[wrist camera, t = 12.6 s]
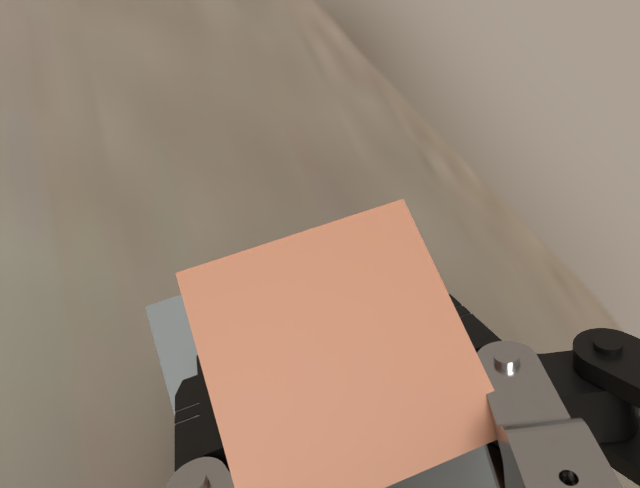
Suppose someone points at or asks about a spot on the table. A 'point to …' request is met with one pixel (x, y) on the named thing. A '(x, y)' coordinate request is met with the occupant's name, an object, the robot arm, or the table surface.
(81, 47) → the table surface
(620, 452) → the robot arm
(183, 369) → the slate-grey slab
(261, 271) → the terracotta block
